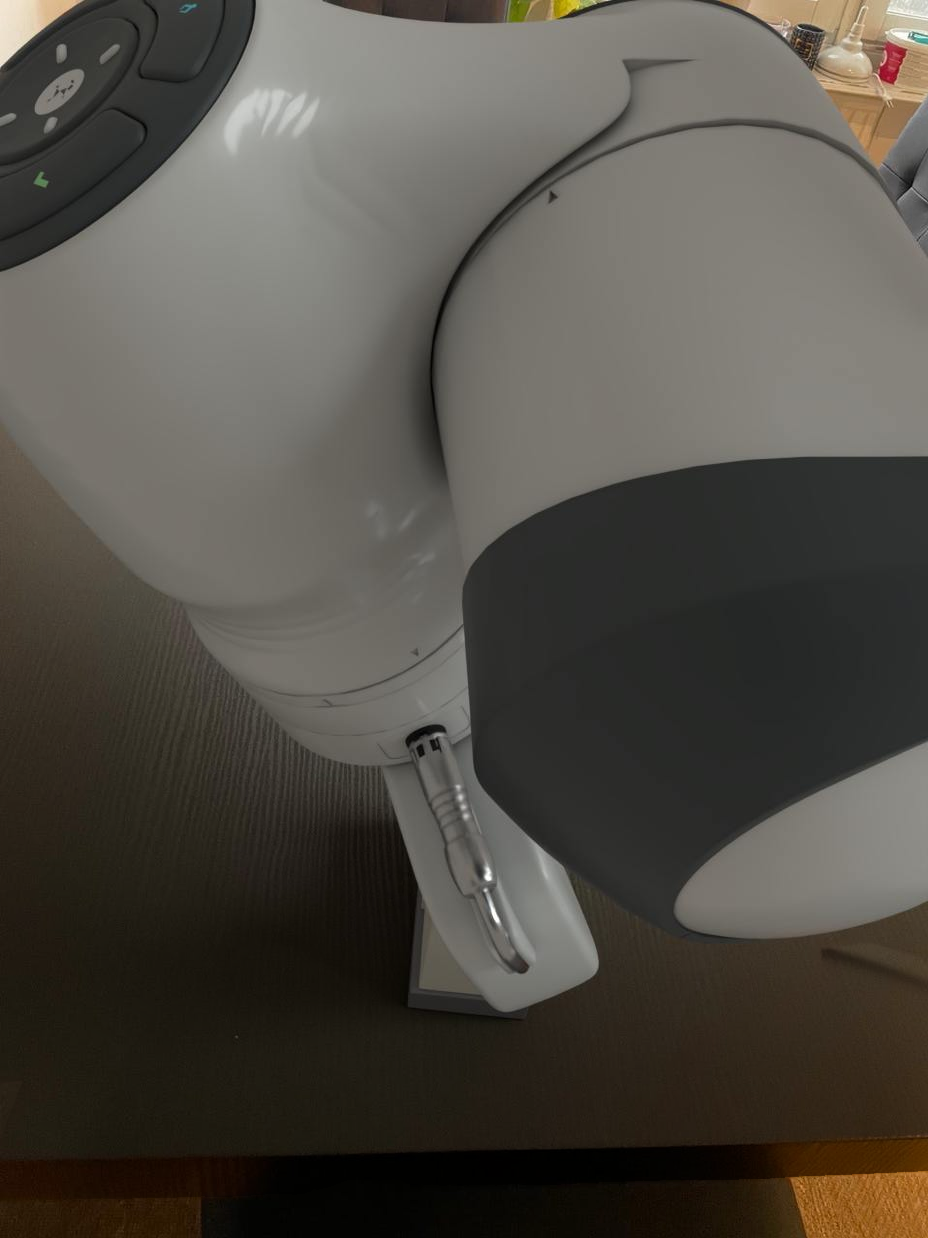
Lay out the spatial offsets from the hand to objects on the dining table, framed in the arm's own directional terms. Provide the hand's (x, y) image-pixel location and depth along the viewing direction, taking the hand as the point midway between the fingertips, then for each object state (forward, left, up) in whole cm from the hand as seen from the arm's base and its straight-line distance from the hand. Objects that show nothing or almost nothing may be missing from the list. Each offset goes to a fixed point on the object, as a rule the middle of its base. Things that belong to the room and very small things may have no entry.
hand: (485, 779), depth 40 cm
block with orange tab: (0, -5, -16) cm, 17 cm away
